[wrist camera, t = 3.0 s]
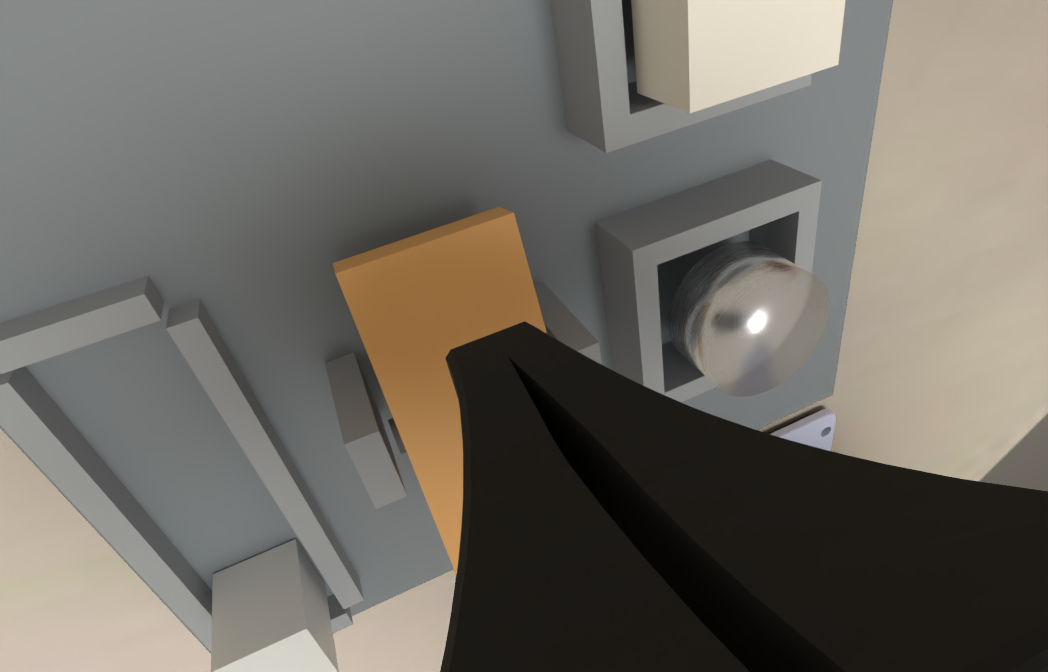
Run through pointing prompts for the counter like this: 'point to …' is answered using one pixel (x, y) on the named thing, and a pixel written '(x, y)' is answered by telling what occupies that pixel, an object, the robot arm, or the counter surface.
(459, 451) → the rocker
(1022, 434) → the counter surface
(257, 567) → the slider knob
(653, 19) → the button square
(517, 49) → the console
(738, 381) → the button round
